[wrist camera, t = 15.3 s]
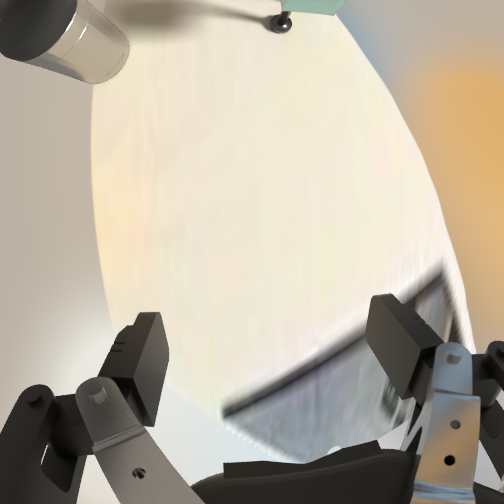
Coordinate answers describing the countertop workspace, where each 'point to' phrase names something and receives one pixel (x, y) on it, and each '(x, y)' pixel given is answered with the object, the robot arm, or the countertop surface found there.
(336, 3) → the sleeve
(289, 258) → the countertop surface
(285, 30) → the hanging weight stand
